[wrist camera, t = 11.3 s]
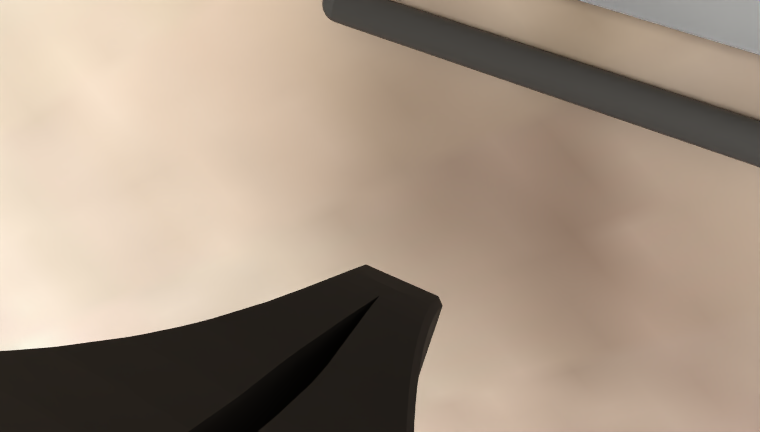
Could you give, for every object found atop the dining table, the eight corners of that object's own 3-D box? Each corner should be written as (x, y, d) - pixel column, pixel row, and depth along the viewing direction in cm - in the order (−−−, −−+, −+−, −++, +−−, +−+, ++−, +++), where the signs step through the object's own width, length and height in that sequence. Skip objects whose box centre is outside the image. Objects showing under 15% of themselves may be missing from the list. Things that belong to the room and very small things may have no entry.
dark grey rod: (1236, 271, 14) (1271, 293, 13) (1198, 310, 15) (1231, 334, 14) (336, -21, 19) (319, -19, 18) (328, 14, 20) (312, 18, 19)
